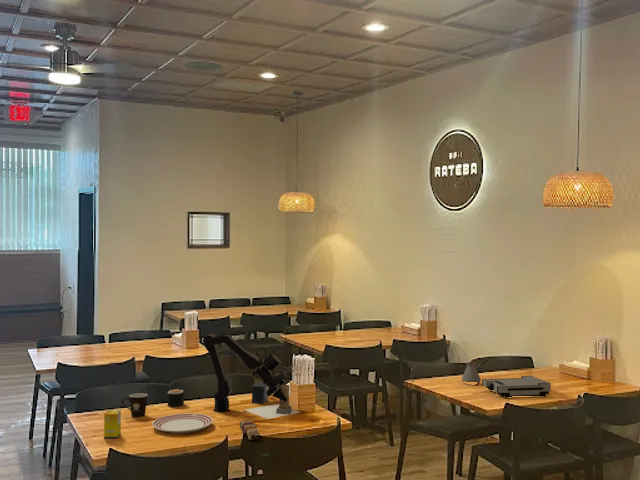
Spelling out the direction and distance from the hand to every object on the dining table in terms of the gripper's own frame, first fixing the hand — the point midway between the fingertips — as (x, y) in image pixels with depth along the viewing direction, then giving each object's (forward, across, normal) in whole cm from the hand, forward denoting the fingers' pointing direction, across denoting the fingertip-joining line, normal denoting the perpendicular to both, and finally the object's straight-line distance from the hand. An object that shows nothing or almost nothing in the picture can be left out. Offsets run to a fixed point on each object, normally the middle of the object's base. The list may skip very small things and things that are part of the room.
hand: (287, 399), depth 323 cm
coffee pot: (+75, +97, -65) cm, 138 cm away
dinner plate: (-24, -33, +35) cm, 54 cm away
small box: (-8, +18, +19) cm, 27 cm away
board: (0, -1, +10) cm, 11 cm away
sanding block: (+3, 0, +5) cm, 6 cm away
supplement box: (-41, -54, +52) cm, 85 cm away
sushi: (-38, +4, +49) cm, 62 cm away
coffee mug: (-46, -18, +57) cm, 75 cm away
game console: (+89, +73, -79) cm, 140 cm away
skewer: (-1, -36, +12) cm, 38 cm away
